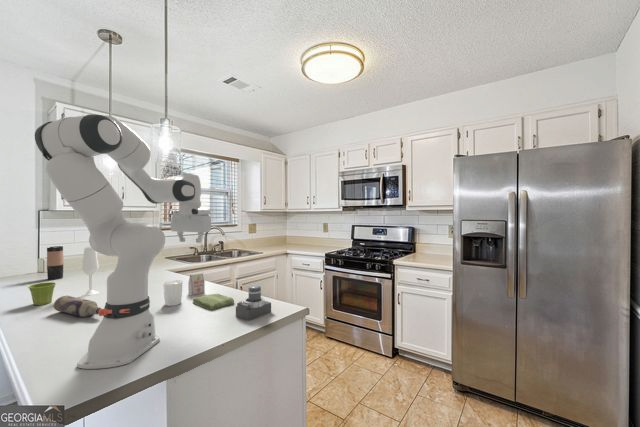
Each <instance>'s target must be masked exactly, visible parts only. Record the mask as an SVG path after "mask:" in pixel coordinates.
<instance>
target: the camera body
mask: <svg viewBox="0 0 640 427" xmlns="http://www.w3.org/2000/svg"><path fill="white" fill-rule="evenodd" d="M270 313H272V302H270V301H266V300H265V298H264V297H262V296H261V301H258V302H249V296H248V297H245V298H244V299H242V300H238V302H237V303H236V306H235V317H236V318H240V319H242V320H245V321H247V322H248V321H252V320H255V319H257V318H260V317H262V316H264V315H268V314H270Z"/></svg>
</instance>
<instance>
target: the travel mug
mask: <svg viewBox="0 0 640 427" xmlns="http://www.w3.org/2000/svg"><path fill="white" fill-rule="evenodd" d="M46 270H47V271H46V273H47V281H56V280H61V279H63V278H64V246H62V245H59V246H49V247H46Z"/></svg>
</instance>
